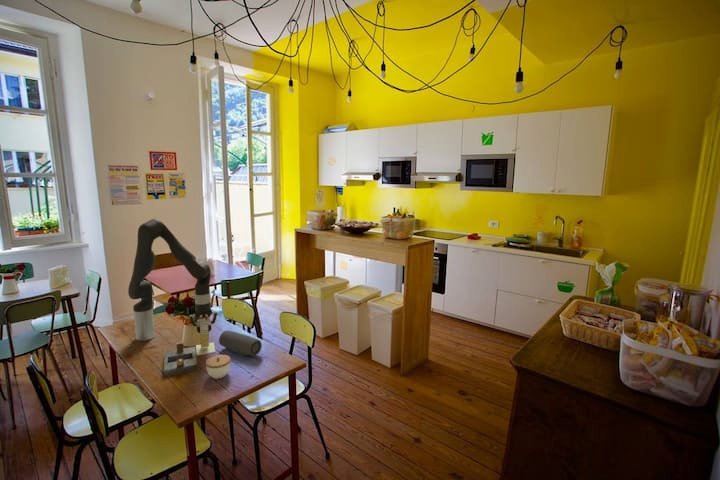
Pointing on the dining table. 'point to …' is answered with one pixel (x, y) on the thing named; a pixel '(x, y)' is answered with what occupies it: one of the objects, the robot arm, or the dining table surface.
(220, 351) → the dining table surface
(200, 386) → the dining table surface
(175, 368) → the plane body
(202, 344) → the candy box
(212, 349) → the felt pad
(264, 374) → the dining table surface
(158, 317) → the dining table surface
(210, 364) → the lidded jar
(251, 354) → the bluetooth speaker
